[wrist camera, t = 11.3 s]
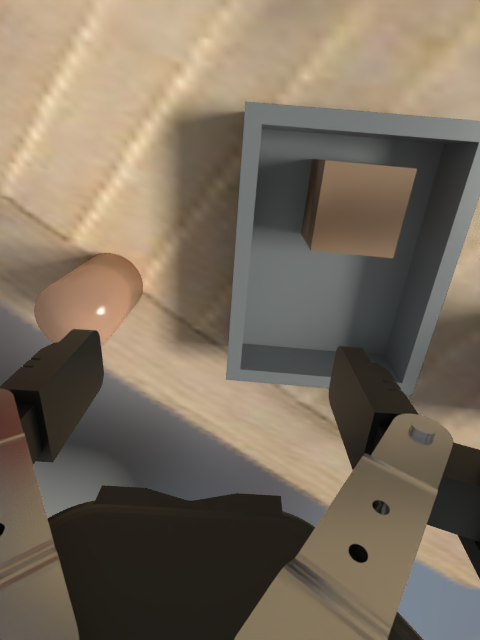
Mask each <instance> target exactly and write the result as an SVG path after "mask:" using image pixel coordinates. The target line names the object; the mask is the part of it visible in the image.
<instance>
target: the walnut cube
mask: <svg viewBox="0 0 480 640" xmlns="http://www.w3.org/2000/svg"><path fill="white" fill-rule="evenodd" d="M416 171H417V169H416V168H406V167H395V166H385V165H374V164H363V163H353V162H342V161H331V160H320V159H312V166H311V172H310V179H309V185H308V192H307V198H306V205H305V211H304V218H303V224H302V231H301V235H302V236H303V238H304V240H305V242H306V244H307V245H308V247H309V249H310V251H320V252H331V253H341V254H352V255H363V256H374V257H385V258H393V257H394V253H395V249H396V246H397V242H398V238H399V235H400V231H401V227H402V223H403V220H404V216H405V212H406V209H407V205H408V201H409V197H410V194H411V190H412V186H413V183H414V179H415V175H416Z"/></svg>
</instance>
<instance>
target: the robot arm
mask: <svg viewBox="0 0 480 640" xmlns="http://www.w3.org/2000/svg"><path fill="white" fill-rule="evenodd" d="M103 376H104V370H103V360H102V351H101V341H100V335H99V333H98V331H97V330H84V329H72V330H71V331H70V332H69V333H68V334H67V335H66V336H65V337H64V338H63V339H62V340H61V341H60V342H55V343H53V344H51V345H49V346H47V347H45V348H43V349H41V350H40V351H38V353H36V354H35V355H34V356H33V357H32V358H31V360H29V361H27V362H26V363H25V364H24V365H23V367H21V368H20V369H19V370H18V371H16V372H15V373H14V374H13V375H12V376H11V377H10V378H9V379H8V380H7V381H5V382H4V383H3V384H2V385H1V386H0V640H423V639H422V638H421V637H420V635H419V634H418V633H417V632H416V631H415V630H414V629H413V628H412V627H411V626H410V625H409V624H408V623H407V621H405V619H404V618H403V617H402V616H401V615H400V614H399V613H398V612H397V610H398V607H399V604H400V601H401V598H402V595H403V592H404V589H405V586H406V583H407V580H408V578H409V574H410V571H411V569H412V566H413V563H414V560H415V557H416V554H417V551H418V548H419V545H420V542H421V540H422V537H423V534H424V531H425V528H426V525H430V526H433V527H436V528H439V529H442V530H445V531H448V532H451V533H454V534H457V535H458V537H459V539H460V541H461V543H462V545H463V547H464V549H465V551H466V553H467V555H468V557H469V559H470V561H471V563H472V565H473V567H474V569H475V571H476V572H477V574H478V576H479V578H480V450H478V449H474V448H471V447H467V446H463V445H460V444H457V443H454V442H453V438H452V436H451V434H450V433H449V432H448V430H447V429H446V428H444V427H443V426H442V425H441V424H439V423H438V422H436V421H434V420H432V419H430V418H427V417H425V416H421V415H418V413H417V412H416V410H415V409H414V407H413V406H412V404H411V403H410V401H409V400H408V398H407V397H406V395H405V394H404V393H403V391H401V388H400V387H399V385H398V384H397V383H396V381H395V379H394V378H393V376H392V375H391V373H390V372H389V371H388V370H386V369H385V368H384V367H382V366H381V365H380V364H378V363H373V362H371V361H370V359H369V358H368V356H367V355H366V353H365V351H364V350H363V348H361V347H348V346H339V347H338V348H337V350H336V354H335V359H334V364H333V370H332V375H331V380H330V385H329V401H330V405H331V408H332V411H333V414H334V417H335V420H336V423H337V426H338V429H339V431H340V434H341V437H342V440H343V443H344V446H345V449H346V452H347V455H348V458H349V461H350V463H351V466H352V469H353V471H352V473H351V474H350V476H349V477H348V479H347V480H346V482H345V483H344V485H343V486H342V488H341V489H340V491H339V492H338V494H337V495H336V497H335V498H334V500H333V502H332V503H331V505H330V506H329V508H328V509H327V511H326V512H325V514H324V515H323V517H322V518H321V520H320V521H319V523H318V524H317V526H316V527H314V526H313V525H311V524H310V523H308V522H306V521H304V520H303V519H300V518H299V517H297V516H294V515H292V514H290V513H286V512H283V511H282V504H281V496H271V495H254V494H238V493H237V494H231V495H225V496H219V497H213V498H207V499H201V500H195V501H188V500H184V499H181V498H177V497H174V496H170V495H167V494H164V493H161V492H157V491H154V490H151V489H147V488H136V487H118V486H102V487H101V489H100V491H99V494H98V496H97V498H96V500H95V501H91V502H86V503H83V504H79V505H76V506H73V507H70V508H68V509H66V510H63V511H61V512H59V513H57V514H55V515H53V516H52V517H50V518H48V519H47V515H46V511H45V508H44V504H43V500H42V496H41V493H40V489H39V485H38V482H37V478H36V474H35V470H34V467H33V464H34V463H35V461H41V462H53V461H54V460H55V458H56V457H57V455H58V454H59V452H60V450H61V449H62V447H63V446H64V444H65V443H66V441H67V440H68V438H69V436H70V435H71V434H72V432H73V430H74V429H75V427H76V426H77V424H78V423H79V421H80V419H81V418H82V416H83V415H84V413H85V412H86V410H87V409H88V407H89V406H90V404H91V403H92V401H93V399H94V398H95V396H96V395H97V393H98V392H99V390H100V388H101V386H102V382H103Z"/></svg>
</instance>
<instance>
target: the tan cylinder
mask: <svg viewBox="0 0 480 640" xmlns="http://www.w3.org/2000/svg"><path fill="white" fill-rule="evenodd" d="M142 292H143V282H142V278H141V275H140V273H139V271H138V270H137V268H136V267H135V266H134V265H133V264H132V263H131V262H130V261H129V260H127V259H126V258H124V257H122V256H119V255H116V254H111V253H105V254H99V255H97V256H95V257H93V258H91V259H90V260H88V261H87V262H85V263H84V264H82V265H80V266H79V267H77V268H76V269H74V270H73V271H71V272H70V273H68V274H66V275H65V276H63V277H62V278H60V279H59V280H57V281H56V282H54V283H52V284H51V285H49V286H48V287H46V288H45V289H44V290H43V291H42V292H41V293H40V294H39V296H38V297H37V299H36V302H35V310H34V311H35V318H36V321H37V324H38V326H39V328H40V330H41V331H42V332H43V334H44V335H45V336H46V337H47V338H48V339H49V340H50V341H51V342H53V343H55V342H60V341H61V340H62V339H63V338H64V337H65V336H66V335H67V334H68V333H69V332H70V331H71V330H72V329H84V330H97V331H98V333H99V335H100V341H101V347H102V346H103V345H104V344H105V343H106V342H107V341H108V339H109V338H110V337H111V336H112V334H113V333H114V332H115V330H116V329H117V328H118V327H119V325H120V324H121V323H122V322H123V320H124V319H125V318H126V317H127V315H128V314H129V313H130V311H131V310H132V309H133V308H134V306H135V305H136V304H137V303H138V301H139V300H140V298H141V295H142Z"/></svg>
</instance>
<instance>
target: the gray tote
mask: <svg viewBox="0 0 480 640" xmlns="http://www.w3.org/2000/svg"><path fill="white" fill-rule="evenodd" d="M312 159H320V160H331V161H342V162H353V163H363V164H374V165H385V166H395V167H406V168H416V169H417V171H416V175H415V179H414V183H413V186H412V190H411V194H410V197H409V201H408V205H407V209H406V212H405V216H404V220H403V223H402V227H401V231H400V235H399V238H398V242H397V246H396V249H395V253H394V257H393V258H385V257H374V256H363V255H352V254H341V253H331V252H320V251H310V249H309V247H308V245H307V244H306V242H305V240H304V238H303V236H302V235H301V231H302V224H303V218H304V211H305V205H306V198H307V192H308V185H309V179H310V172H311V166H312ZM479 197H480V121H474V120H462V119H450V118H437V117H425V116H413V115H401V114H389V113H377V112H364V111H352V110H340V109H328V108H316V107H303V106H291V105H279V104H267V103H255V102H245V115H244V129H243V143H242V158H241V172H240V186H239V201H238V215H237V229H236V243H235V258H234V272H233V286H232V301H231V315H230V329H229V344H228V358H227V372H226V380H237V381H249V382H260V383H272V384H284V385H295V386H307V387H319V388H329V385H330V380H331V375H332V370H333V364H334V359H335V354H336V350H337V348H338V347H339V346H348V347H361V348H363V350H364V351H365V353H366V355H367V356H368V358H369V359H370V361H371V362H373V363H378V364H380V365H381V366H382V367H384V368H385V369H386V370H388V371H389V372H390V373H391V375H392V376H393V378H394V379H395V381H396V383H397V384H398V385H399V387H400V388H401V391H403V393H404V394H405V395H412V394H413V391H414V389H415V386H416V383H417V380H418V377H419V374H420V371H421V368H422V365H423V362H424V359H425V356H426V353H427V350H428V347H429V344H430V341H431V338H432V335H433V332H434V330H435V327H436V324H437V321H438V318H439V315H440V312H441V309H442V306H443V303H444V300H445V297H446V294H447V291H448V288H449V285H450V282H451V279H452V276H453V273H454V270H455V268H456V265H457V262H458V259H459V256H460V253H461V250H462V247H463V244H464V241H465V238H466V235H467V232H468V229H469V226H470V223H471V220H472V217H473V214H474V211H475V209H476V206H477V203H478V200H479Z"/></svg>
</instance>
